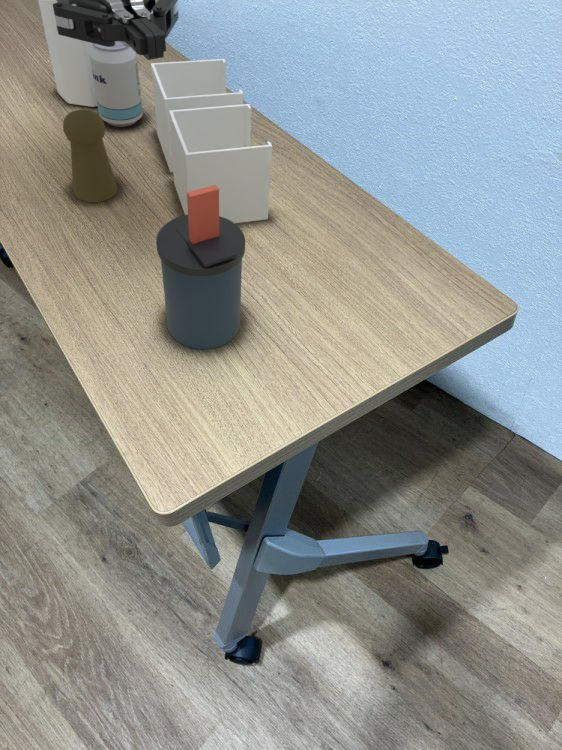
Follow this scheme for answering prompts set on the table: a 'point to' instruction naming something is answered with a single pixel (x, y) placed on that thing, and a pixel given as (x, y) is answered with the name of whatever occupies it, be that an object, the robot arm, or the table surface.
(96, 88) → the beverage can
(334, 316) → the table surface
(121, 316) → the table surface
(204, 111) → the storage container
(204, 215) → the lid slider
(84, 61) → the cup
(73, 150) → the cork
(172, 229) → the travel cup
